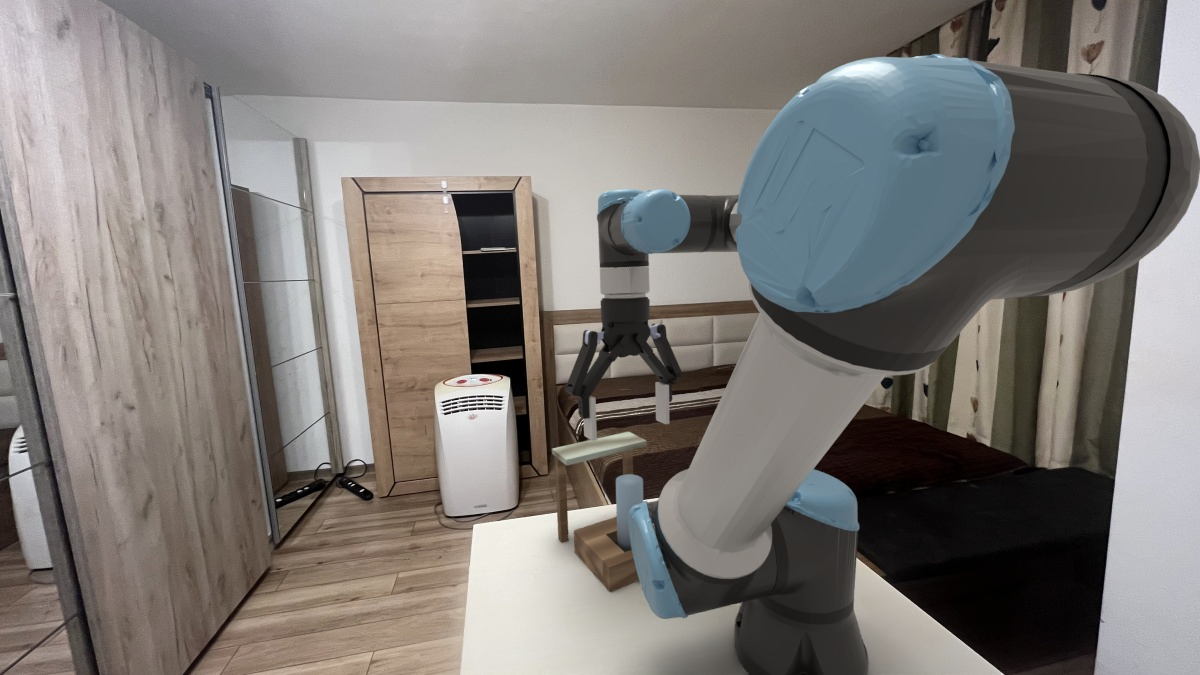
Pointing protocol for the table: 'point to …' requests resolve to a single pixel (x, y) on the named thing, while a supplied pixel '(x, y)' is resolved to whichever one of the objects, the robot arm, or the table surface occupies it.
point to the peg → (626, 505)
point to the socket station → (601, 538)
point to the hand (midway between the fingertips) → (628, 429)
